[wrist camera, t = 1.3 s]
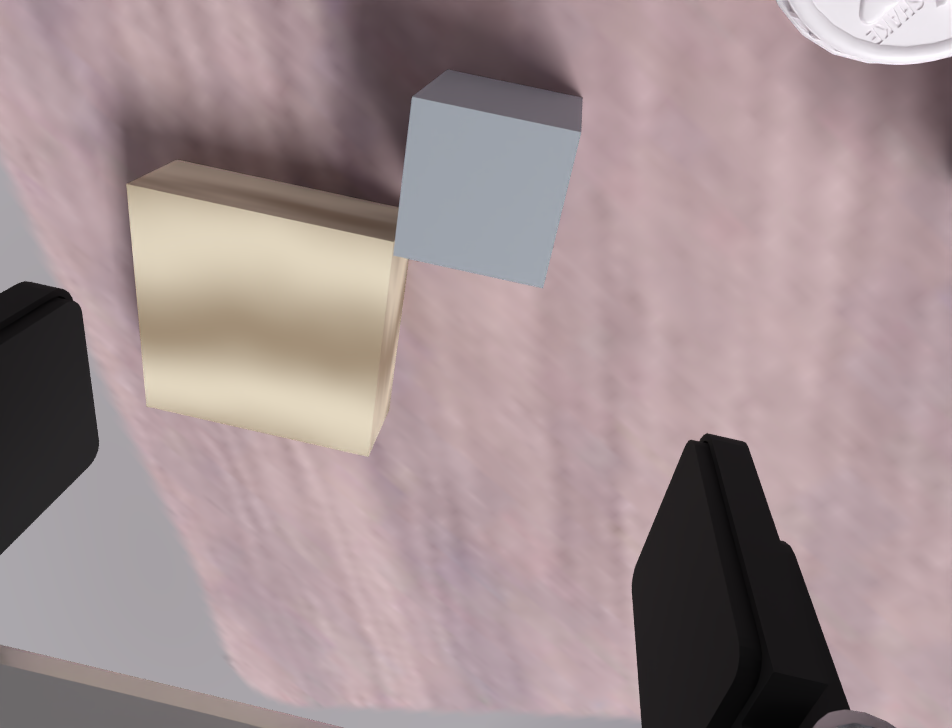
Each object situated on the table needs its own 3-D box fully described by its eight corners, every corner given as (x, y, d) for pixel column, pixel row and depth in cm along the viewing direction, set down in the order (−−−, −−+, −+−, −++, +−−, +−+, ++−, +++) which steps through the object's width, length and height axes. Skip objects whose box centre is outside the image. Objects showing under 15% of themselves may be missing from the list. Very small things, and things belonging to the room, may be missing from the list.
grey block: (447, 69, 25) (411, 96, 20) (582, 97, 25) (581, 132, 20) (429, 201, 28) (393, 255, 23) (551, 227, 28) (542, 288, 23)
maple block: (181, 157, 29) (126, 183, 25) (416, 208, 28) (393, 241, 25) (191, 361, 34) (146, 406, 30) (390, 406, 34) (368, 456, 30)
